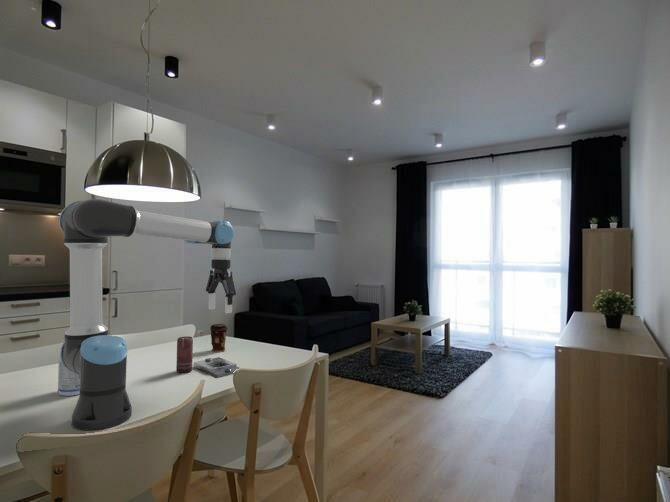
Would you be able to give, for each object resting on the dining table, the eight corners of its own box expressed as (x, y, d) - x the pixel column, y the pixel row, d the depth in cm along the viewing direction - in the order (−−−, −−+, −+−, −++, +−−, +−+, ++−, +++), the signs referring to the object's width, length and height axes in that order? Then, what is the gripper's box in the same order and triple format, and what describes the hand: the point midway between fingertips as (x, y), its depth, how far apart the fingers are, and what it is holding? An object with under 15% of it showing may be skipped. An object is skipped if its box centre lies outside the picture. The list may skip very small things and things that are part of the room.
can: (175, 374, 158) (176, 339, 158) (177, 369, 164) (178, 336, 164) (191, 373, 159) (192, 339, 159) (192, 369, 166) (193, 335, 166)
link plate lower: (217, 377, 155) (217, 373, 155) (199, 369, 165) (199, 365, 165) (243, 371, 164) (243, 367, 164) (225, 364, 174) (225, 360, 174)
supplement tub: (68, 387, 141) (69, 346, 141) (95, 387, 141) (97, 346, 142) (51, 397, 131) (52, 353, 131) (81, 396, 132) (82, 352, 132)
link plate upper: (210, 374, 159) (210, 368, 159) (193, 366, 169) (193, 360, 169) (236, 368, 167) (236, 362, 167) (218, 361, 177) (218, 355, 177)
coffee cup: (205, 351, 194) (206, 325, 194) (215, 348, 202) (216, 322, 202) (220, 353, 192) (221, 326, 192) (230, 349, 200) (230, 324, 200)
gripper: (245, 259, 154) (244, 313, 154) (214, 258, 172) (213, 306, 172) (228, 259, 149) (227, 315, 149) (198, 258, 167) (197, 308, 166)
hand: (219, 311), depth 160 cm, fingers open, 13 cm apart
